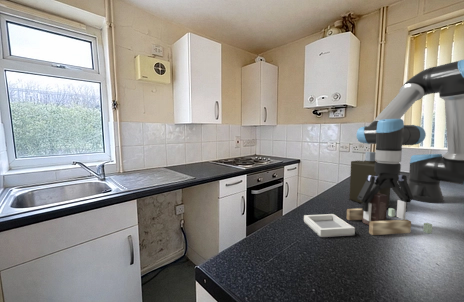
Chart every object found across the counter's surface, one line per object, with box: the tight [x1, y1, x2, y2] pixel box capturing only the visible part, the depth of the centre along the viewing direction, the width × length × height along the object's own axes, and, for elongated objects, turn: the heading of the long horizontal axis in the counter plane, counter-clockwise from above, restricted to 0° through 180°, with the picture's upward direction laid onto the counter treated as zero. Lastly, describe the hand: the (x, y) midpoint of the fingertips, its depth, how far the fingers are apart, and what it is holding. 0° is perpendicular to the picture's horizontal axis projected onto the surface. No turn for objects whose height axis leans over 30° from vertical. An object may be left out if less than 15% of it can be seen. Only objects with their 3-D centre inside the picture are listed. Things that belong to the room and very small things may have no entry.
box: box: [362, 193, 388, 226], centre depth 75 cm, size 6×4×12 cm
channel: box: [346, 207, 412, 236], centre depth 75 cm, size 14×13×4 cm
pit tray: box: [303, 213, 356, 238], centre depth 73 cm, size 12×12×2 cm
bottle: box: [348, 151, 391, 209], centre depth 98 cm, size 8×16×25 cm, turn 28°
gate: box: [387, 207, 433, 234], centre depth 76 cm, size 2×16×3 cm, turn 6°
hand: (383, 219), depth 75 cm, fingers open, 13 cm apart
